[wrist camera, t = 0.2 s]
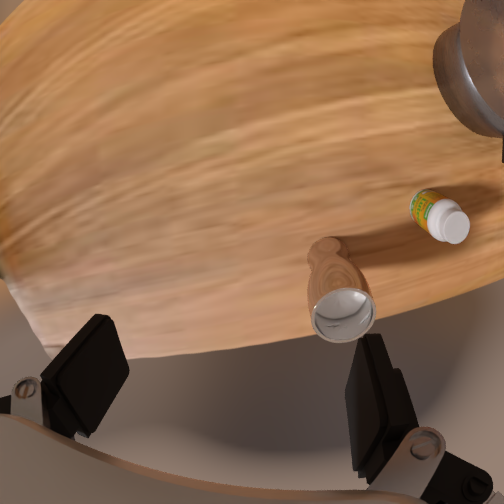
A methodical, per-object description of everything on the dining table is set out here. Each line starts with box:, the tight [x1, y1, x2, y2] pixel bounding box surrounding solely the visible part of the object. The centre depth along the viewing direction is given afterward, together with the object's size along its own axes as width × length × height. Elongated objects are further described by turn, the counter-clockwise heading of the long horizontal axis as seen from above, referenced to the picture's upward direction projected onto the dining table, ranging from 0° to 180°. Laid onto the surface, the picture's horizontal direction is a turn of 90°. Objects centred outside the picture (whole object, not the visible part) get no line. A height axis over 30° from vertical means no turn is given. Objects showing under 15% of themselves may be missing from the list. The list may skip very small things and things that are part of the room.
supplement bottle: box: [410, 189, 470, 244], centre depth 32 cm, size 5×5×10 cm
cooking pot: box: [433, 22, 504, 163], centre depth 23 cm, size 25×18×10 cm
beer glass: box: [307, 237, 376, 343], centre depth 34 cm, size 7×7×15 cm
